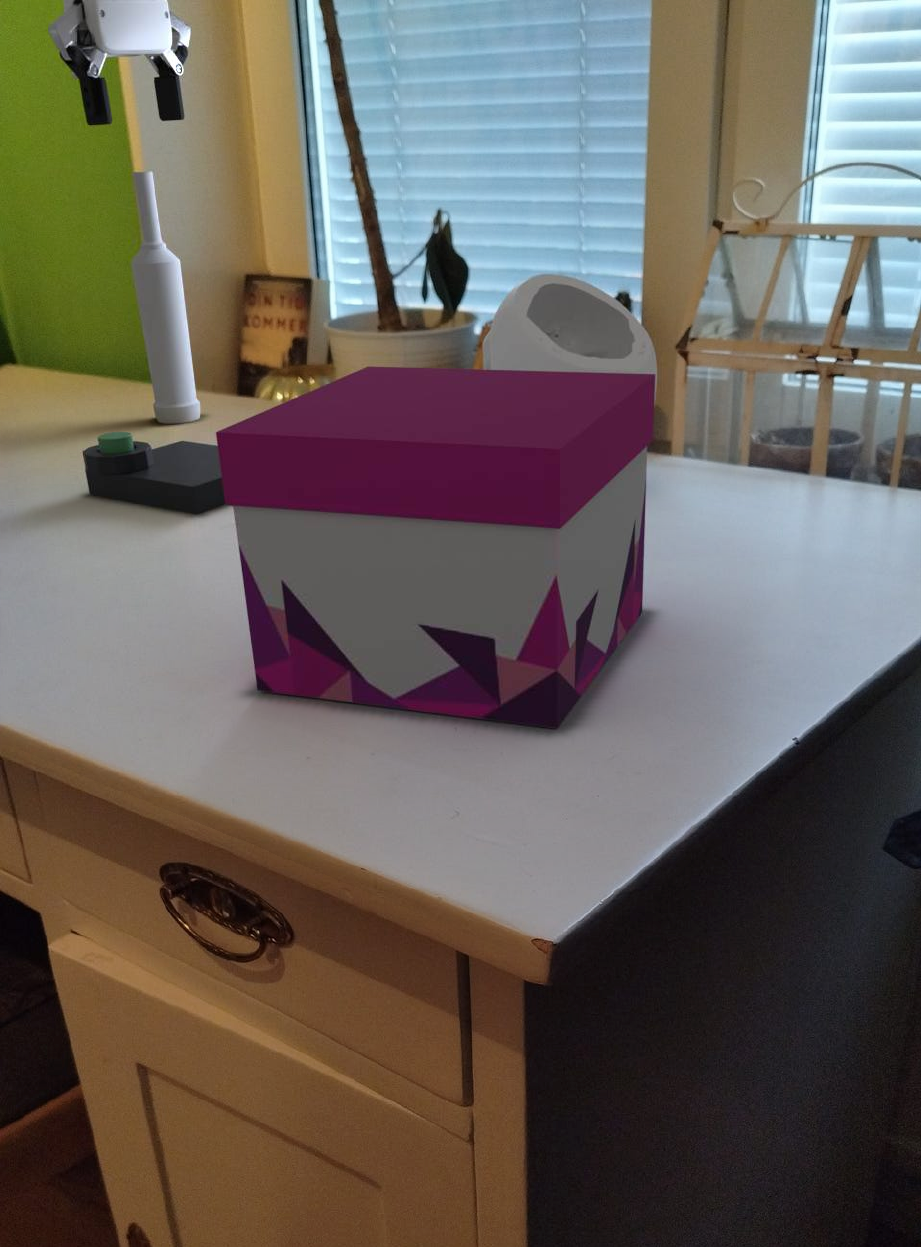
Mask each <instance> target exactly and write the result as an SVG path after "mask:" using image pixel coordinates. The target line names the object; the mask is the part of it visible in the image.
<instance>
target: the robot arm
mask: <svg viewBox="0 0 921 1247" xmlns="http://www.w3.org/2000/svg"><path fill="white" fill-rule="evenodd" d="M62 2H63V10H64V12H63V13H61V15H59V16H58V17H57V18H55V20H54V21H52V22H51V23H50V24H49V25H48V27H47V31H48V34H49V36H50V37H51V40H52V41H53V43H54V45H55V47H56V49H57V50H58V52H59V54H58V55H59V57H60V59H61V60H62V61H63V63H64V64H65V65H66V66H67V67H68V68H69V69H70V70H71V71H70V72H71V75H72V77H73V79H75V80H78V82H79V89H80V94H81V99H82V105H83V111H84V115H85V121H86V124H87V125H88V126H89V127H91V126H102V125H103V126H106V125H111V124H112V123H113V115H112V108H111V104H110V97H109V91H108V85H107V80H106V78H105V77H102V76H101V77H100V74H101V72H102V69H103V66H104V65H105V64H104V63H105V62H106V58H122V57H123V58H126V57H127V58H128V57H138V56H139V57H140V56H142V55H144V56H145V58H146V59H147V61H148V62H149V63H150V65H151V67H152V68H153V69H154V70H155V72H156V73H157V75H158V76H154V77H153V85H154V90H155V96H156V97H155V98H156V105H157V110H158V117H159V120H160V121H162V122H171V121H172V122H173V121H183V120H185V109H184V101H183V94H182V88H181V81H180V76H182V75H183V74H184V64H185V63H186V61H187V59H188V56H189V50H188V48H189V46H190V45H189V44H190V39H191V32H192V29H191V27H190V26H189V24H188V23H186V22H185V21H184V20H182V19H181V18H180V17H178V16H177V15H176V14H174V13H173V12H171V10H170V8H169V2H168V0H62Z"/></svg>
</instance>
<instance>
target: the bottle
mask: <svg viewBox="0 0 921 1247" xmlns="http://www.w3.org/2000/svg"><path fill="white" fill-rule="evenodd" d="M131 174H132V179H133V181H132V182H133V187H134V193H135V196H136V204H137V209H138V216H139V223H140V229H141V231H140V232H141V237H142V238H141V239H142V242H141V244H139V247H140V250H139V251H138V252H137V253H136V255H135V256H134V257H133V259H132V260H131V262H130V266H131V271H132V277H133V283H134V290H135V294H136V295H135V296H136V300H137V301H136V302H137V306H138V311H139V317H140V318H139V319H140V323H141V328H142V335H143V340H144V345H145V352H146V357H147V364H148V368H149V374H150V379H151V386H152V391H153V392H152V393H153V397H154V402H153V404H152V406H153V412H154V416H155V418H156V420H157V422H158V423H161V424H169V425H171V424H185V423H189V422H194V421H198V420H199V419H200V417H201V403H200V400H199V399H198V398H197V391H196V382H195V375H194V374H195V373H194V365H193V358H192V350H191V349H192V348H191V340H190V332H189V323H188V317H187V307H186V300H185V292H184V282H183V274H182V265H181V259H180V258H178V257H177V256H176V255H175V254H174V253H173V252H172V251H171V250H170V249H168V247H167V243H166V242H164V241H163V239H162V233H161V226H160V221H159V220H160V219H159V212H158V205H157V198H156V189H155V188H156V187H155V181H154V173H153V171H148V170H147V171H132V173H131Z"/></svg>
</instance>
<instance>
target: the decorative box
mask: <svg viewBox="0 0 921 1247" xmlns="http://www.w3.org/2000/svg"><path fill="white" fill-rule="evenodd" d="M654 399H655V400H656V398H655V374H629V373H591V372H554V371H517V370H483V369H475V368H443V367H441V368H439V367H437V368H436V367H405V366H403V367H402V366H401V367H400V366H365V367H363V368H361V369H359V370H356V371H354V372H352V373H349V374H347V375H345V376H342V377H341V378H338V379H336V380H333V381H331V382H329V383H326V384H324V385H322V386H319V387H317V388H314V389H313V390H310V391H308V392H306V393H304V394H301V395H298V396H296V397H294V398H291V399H289V400H287V401H285V402H282V403H280V404H278V405H276V406H273V407H271V408H269V409H266V410H264V411H262V412H260V413H257V414H255V415H252V416H249V417H248V418H245V419H243V420H241V421H238V422H236V423H233V424H232V425H229V426H227V427H224V428H222V429H220V430H217V431H215V437H216V444H217V445H216V446H218V452H219V460H220V467H221V475H222V482H223V489H224V497H225V506H231V507H233V515H234V523H235V530H236V537H237V544H238V553H239V560H240V568H241V576H242V583H243V590H244V598H245V605H246V613H247V621H248V622H247V623H248V629H249V636H250V644H251V651H252V658H253V666H254V674H255V682H256V683H255V684H256V688H257V691H259V692H267V693H273V694H274V693H275V694H282V695H290V696H298V697H305V698H314V699H320V700H321V699H322V700H331V701H335V702H336V701H338V702H345V703H352V704H353V703H354V704H361V705H369V706H377V707H385V708H393V709H400V710H409V711H416V712H424V713H432V714H433V713H434V714H440V715H449V716H455V717H464V718H471V719H478V720H480V719H481V720H488V721H496V722H503V723H511V724H520V725H528V726H535V727H544V728H550V729H559V727H560V725H561V724H562V723H563V721H564V720H565V719H566V717H567V716H568V715H569V713H570V712H571V710H572V709H573V708H574V706H575V705H576V703H577V702H578V701H579V699H580V698H581V697H582V696H583V694H584V692H585V691H586V690H587V689H588V687H589V686H590V685H591V684H592V682H593V680H594V679H595V678H596V676H598V674H599V672H600V671H601V670H602V668H603V667H604V666H605V664H606V662H607V661H608V660H609V658H610V657H611V656H612V654H613V653H614V652H615V650H616V649H617V647H618V646H619V645H620V644H621V642H622V641H623V639H624V638H625V637H626V636H627V634H628V633H629V631H630V630H631V629H632V627H633V626H634V624H635V623H636V622H637V621H638V619H639V617H640V616H641V615H642V614H643V599H644V570H645V569H644V568H645V567H644V565H645V535H646V534H645V533H646V531H645V529H646V500H647V499H646V498H647V468H648V467H647V466H648V462H647V461H648V446H649V445H650V444H651V443H652V442H653V441H654V428H655V405H654Z"/></svg>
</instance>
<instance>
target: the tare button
mask: <svg viewBox="0 0 921 1247" xmlns="http://www.w3.org/2000/svg"><path fill="white" fill-rule="evenodd" d="M133 441H134V440H133V435H132V433H131V432H129V431H111V432H106V433H102V434H99V435H98V436H97V443H98V445H99V449H100V453H103V454H112V453H122V452H128V451H131V450H134V445H133Z"/></svg>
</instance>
